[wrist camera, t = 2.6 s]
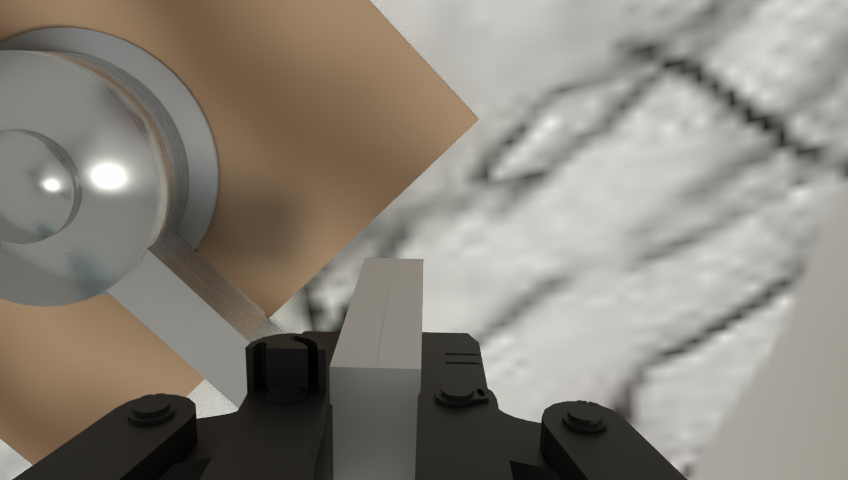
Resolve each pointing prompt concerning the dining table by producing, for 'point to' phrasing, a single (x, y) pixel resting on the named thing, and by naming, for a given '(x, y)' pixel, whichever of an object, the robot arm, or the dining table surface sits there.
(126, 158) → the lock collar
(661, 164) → the dining table surface
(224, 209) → the post board
